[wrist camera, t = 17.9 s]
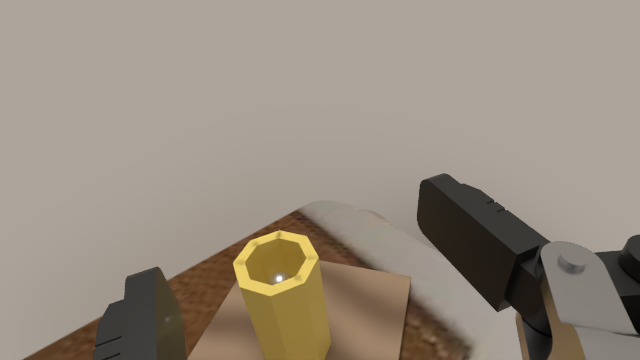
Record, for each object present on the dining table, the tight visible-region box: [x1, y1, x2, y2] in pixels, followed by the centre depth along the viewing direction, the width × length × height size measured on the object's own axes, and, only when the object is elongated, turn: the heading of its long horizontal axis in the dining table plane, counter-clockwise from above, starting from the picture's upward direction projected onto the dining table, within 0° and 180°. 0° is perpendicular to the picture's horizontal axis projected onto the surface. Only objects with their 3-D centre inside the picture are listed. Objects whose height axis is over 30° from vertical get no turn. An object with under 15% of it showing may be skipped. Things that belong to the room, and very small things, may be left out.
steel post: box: [268, 271, 291, 285], centre depth 29 cm, size 2×2×10 cm
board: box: [187, 260, 411, 360], centre depth 32 cm, size 20×18×1 cm
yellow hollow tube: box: [233, 230, 331, 360], centre depth 29 cm, size 6×6×11 cm
